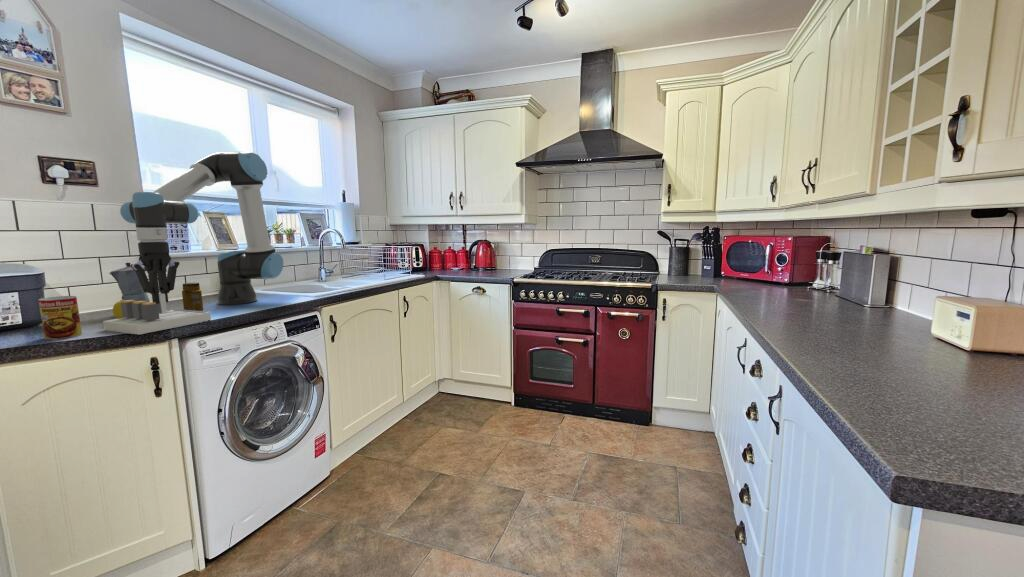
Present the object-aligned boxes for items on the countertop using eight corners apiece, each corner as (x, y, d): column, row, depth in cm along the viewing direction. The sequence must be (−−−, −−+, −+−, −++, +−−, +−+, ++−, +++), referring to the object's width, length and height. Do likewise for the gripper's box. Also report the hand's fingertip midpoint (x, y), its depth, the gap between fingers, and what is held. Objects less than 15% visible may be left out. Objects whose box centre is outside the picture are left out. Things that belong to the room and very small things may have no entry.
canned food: (40, 341, 122) (34, 300, 121) (49, 335, 129) (42, 297, 127) (78, 336, 127) (72, 298, 125) (84, 332, 133) (79, 295, 132)
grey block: (153, 318, 137) (151, 301, 136) (159, 318, 136) (157, 302, 135) (142, 320, 134) (140, 303, 133) (148, 320, 133) (146, 303, 132)
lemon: (119, 321, 150) (116, 299, 148) (138, 319, 151) (135, 298, 150) (110, 324, 144) (107, 301, 143) (130, 322, 146) (127, 300, 145)
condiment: (204, 311, 167) (201, 281, 166) (206, 314, 161) (202, 283, 159) (181, 313, 163) (178, 283, 161) (182, 317, 156) (178, 285, 155)
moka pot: (107, 315, 160) (99, 263, 157) (150, 308, 174) (144, 260, 172) (125, 316, 157) (118, 263, 155) (168, 309, 172) (162, 260, 169)
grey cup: (144, 316, 139) (142, 300, 139) (150, 317, 138) (148, 301, 138) (133, 318, 137) (131, 301, 136) (139, 319, 135) (137, 302, 135)
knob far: (133, 315, 141) (131, 299, 141) (138, 316, 140) (136, 300, 140) (122, 317, 139) (120, 300, 138) (128, 317, 138) (125, 301, 137)
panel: (178, 317, 156) (177, 308, 155) (211, 320, 150) (210, 311, 149) (104, 330, 135) (103, 320, 135) (138, 334, 129) (137, 324, 129)
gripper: (136, 241, 127) (146, 317, 130) (182, 240, 139) (190, 310, 142) (121, 241, 130) (131, 316, 133) (168, 240, 142) (176, 308, 145)
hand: (162, 312), depth 137 cm, fingers closed
